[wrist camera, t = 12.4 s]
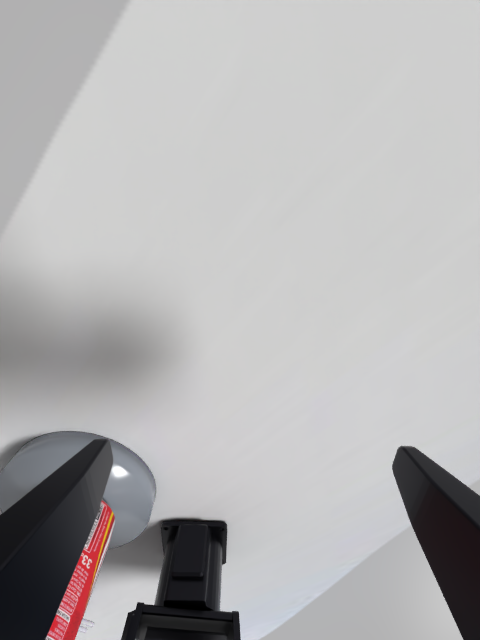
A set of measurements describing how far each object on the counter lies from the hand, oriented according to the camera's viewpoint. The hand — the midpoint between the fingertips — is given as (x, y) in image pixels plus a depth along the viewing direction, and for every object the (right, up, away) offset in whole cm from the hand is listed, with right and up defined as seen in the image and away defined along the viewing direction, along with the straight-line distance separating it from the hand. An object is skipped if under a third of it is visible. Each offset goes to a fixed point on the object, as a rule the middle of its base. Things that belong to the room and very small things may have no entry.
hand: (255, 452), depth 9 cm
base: (-15, -11, +18) cm, 26 cm away
